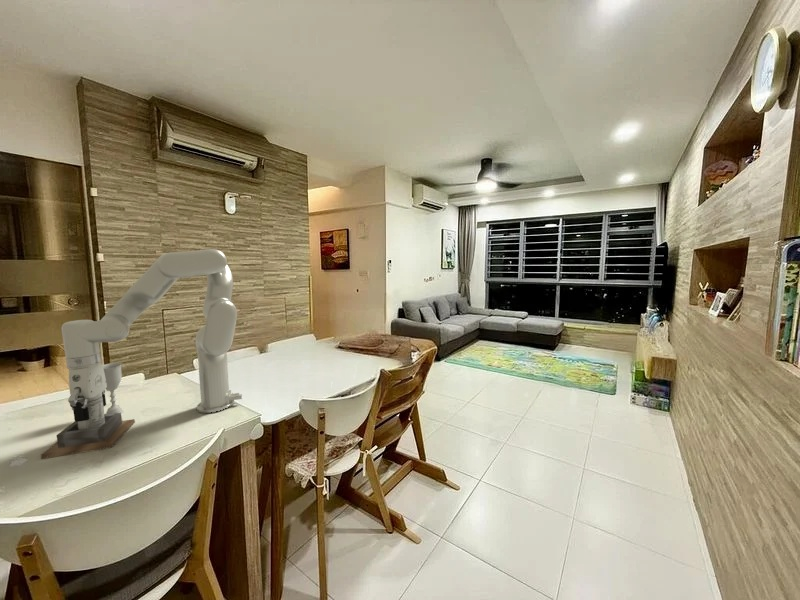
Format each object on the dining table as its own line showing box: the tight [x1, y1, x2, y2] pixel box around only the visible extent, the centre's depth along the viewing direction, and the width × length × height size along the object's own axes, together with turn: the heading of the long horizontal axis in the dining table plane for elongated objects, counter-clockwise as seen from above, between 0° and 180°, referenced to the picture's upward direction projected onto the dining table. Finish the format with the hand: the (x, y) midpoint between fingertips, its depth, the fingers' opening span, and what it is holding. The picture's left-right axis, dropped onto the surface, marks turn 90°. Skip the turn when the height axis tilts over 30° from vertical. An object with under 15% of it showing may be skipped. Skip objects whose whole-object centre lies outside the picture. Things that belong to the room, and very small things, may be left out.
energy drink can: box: [78, 392, 105, 430], centre depth 99 cm, size 6×6×15 cm
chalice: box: [102, 362, 124, 415], centre depth 116 cm, size 7×7×18 cm
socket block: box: [40, 413, 136, 459], centre depth 100 cm, size 16×16×5 cm
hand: (91, 413), depth 100 cm, fingers open, 9 cm apart
